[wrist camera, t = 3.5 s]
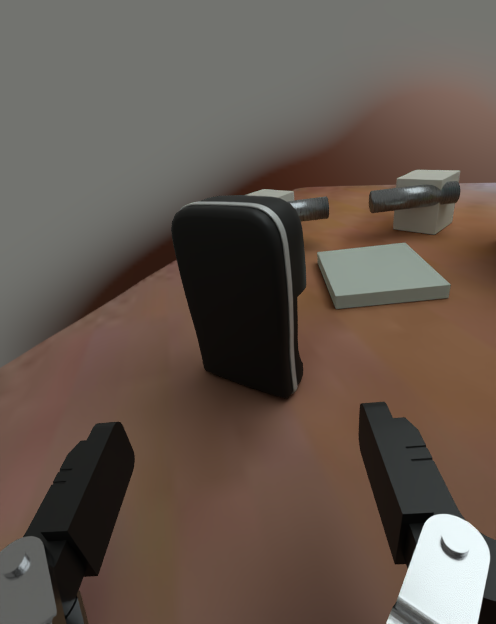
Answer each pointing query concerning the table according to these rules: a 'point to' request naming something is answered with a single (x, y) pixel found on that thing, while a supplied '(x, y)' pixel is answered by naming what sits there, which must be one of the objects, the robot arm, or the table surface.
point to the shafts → (385, 200)
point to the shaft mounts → (407, 219)
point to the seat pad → (379, 276)
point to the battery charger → (244, 287)
